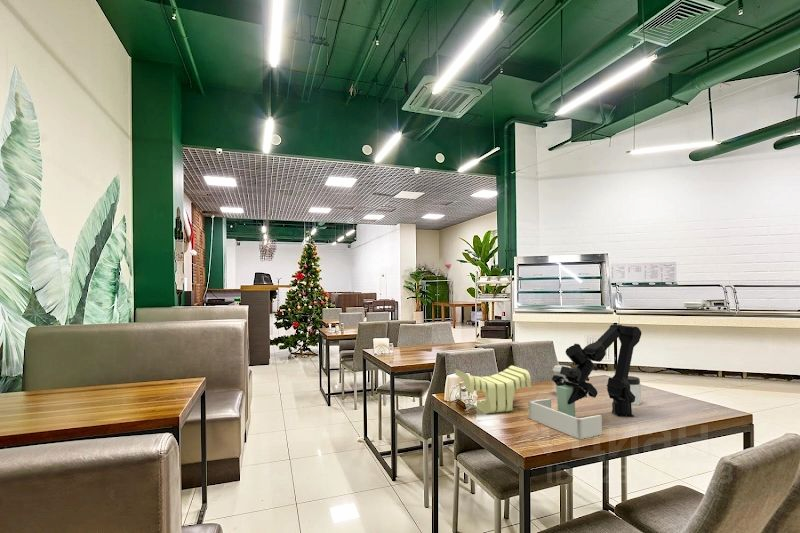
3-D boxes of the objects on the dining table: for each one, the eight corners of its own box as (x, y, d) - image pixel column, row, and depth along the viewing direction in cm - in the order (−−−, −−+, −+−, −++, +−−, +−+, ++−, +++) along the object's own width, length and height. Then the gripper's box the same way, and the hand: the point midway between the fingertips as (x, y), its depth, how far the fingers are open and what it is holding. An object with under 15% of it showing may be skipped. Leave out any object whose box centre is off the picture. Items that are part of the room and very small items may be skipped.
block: (566, 416, 156) (565, 385, 157) (575, 419, 152) (574, 387, 153) (558, 417, 154) (556, 386, 155) (567, 421, 150) (565, 388, 151)
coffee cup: (564, 399, 190) (562, 368, 192) (549, 394, 199) (548, 365, 200) (577, 397, 194) (576, 367, 195) (563, 392, 203) (562, 364, 204)
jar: (645, 404, 180) (644, 379, 181) (631, 406, 178) (630, 380, 179) (630, 399, 189) (629, 375, 190) (616, 400, 187) (615, 376, 188)
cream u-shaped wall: (549, 414, 166) (549, 398, 167) (602, 434, 142) (601, 415, 143) (529, 418, 162) (528, 401, 162) (580, 439, 138) (579, 419, 138)
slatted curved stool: (470, 417, 164) (470, 375, 165) (456, 406, 179) (455, 368, 180) (531, 411, 171) (530, 371, 173) (512, 401, 187) (511, 365, 188)
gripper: (553, 355, 165) (535, 384, 160) (590, 362, 148) (571, 395, 142) (568, 372, 167) (550, 401, 162) (606, 381, 150) (587, 413, 145)
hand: (563, 402), depth 153 cm, fingers closed on block, 4 cm apart
